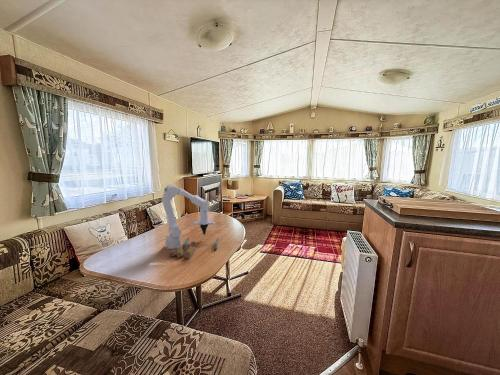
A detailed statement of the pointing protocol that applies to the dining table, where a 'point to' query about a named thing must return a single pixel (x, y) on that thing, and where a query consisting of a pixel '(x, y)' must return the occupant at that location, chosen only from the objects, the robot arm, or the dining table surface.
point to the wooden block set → (181, 251)
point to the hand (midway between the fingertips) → (204, 234)
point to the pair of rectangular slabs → (188, 244)
